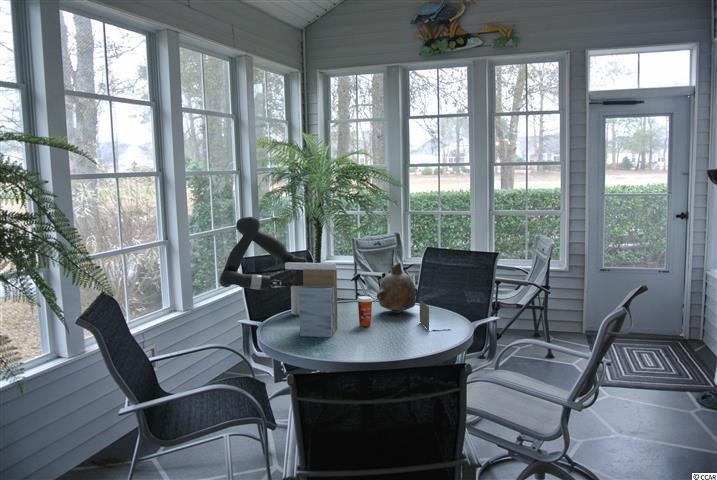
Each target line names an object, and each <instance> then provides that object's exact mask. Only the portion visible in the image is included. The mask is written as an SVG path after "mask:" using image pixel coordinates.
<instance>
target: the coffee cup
mask: <svg viewBox="0 0 717 480" xmlns="http://www.w3.org/2000/svg"><path fill="white" fill-rule="evenodd" d="M356 301H357V306H358V307H357V308H358V309H357V311H358V321H359V322H358V323H359V324H358V325H359V327H364V326H367V327H371V324H372V310H373V309H372V308H373V298H372V297H371V296H366V295H365V296H362V295H361V296H359V297H358V298H357V299H356Z"/></svg>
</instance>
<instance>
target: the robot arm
mask: <svg viewBox="0 0 717 480" xmlns="http://www.w3.org/2000/svg"><path fill="white" fill-rule="evenodd" d="M235 225H236V226H235V227H236V229H237V231H238V232H239V234H240V235H242V236H241V238H240V239H239V241H238V242H237V243H236V245H234V247H233V248H232V249H231V251H230V253H229V255H228V257H227V260H226V263H225V266H224V268H223V270H222V273H221V274H220V276H219V280H218V281H219V284H220V286H221V287H223V288H229V287H231V286H232V285H233V286H238V287H240V288H244V289H245V288H246V289H252V290H261V291H268V290H269V288H270V287H271V288H290V294H291V295H290V298H291V299H290V302H291V303H290V308H291V316H300V310H299V288H301V287H302V286H303V270H301V269H288V270H289V271H290V272H291V273H295V277H294V278H292V279H291V280H290V282H289V281H285V280H283V281H282V280H278V279H272V280H271V278H270V276H269V275H264V274H250V273H249V274H248V273H241V272H238V270H239V269H240V267H241V263H242V262H243V260H244V257H245V254H246V253H247V250H248V248H249V247H250V245H251V243H252V242H254V243H255V244H256V245H258V246H259V247H260V248H262V249H263V250H264V251H265V252H266V253H268V254H269V255H270V256H271V257H273V258H274V259H276V260H277V261H279V262H280V263H281V264H283V265H284V266H285V263H287V262H293V263H309V262H308V260H307V258H305V257H302V256H297V255H296V256H295V255H294V254H292V253H290V252H289V251H288V250H287V248H286V247H285V244H284V243H283V241H281V240H279V239H278V238H277V237H275V236H274V235H272V234H270V233H267V232H264V231H262V230H260V225H261V224H260V221H259V219H258V218H257V217H255V216H246V217H241V218H239V219H238V220H237V221H236V224H235Z"/></svg>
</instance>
